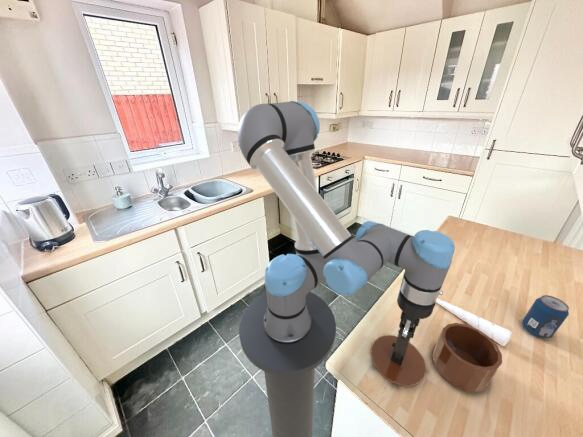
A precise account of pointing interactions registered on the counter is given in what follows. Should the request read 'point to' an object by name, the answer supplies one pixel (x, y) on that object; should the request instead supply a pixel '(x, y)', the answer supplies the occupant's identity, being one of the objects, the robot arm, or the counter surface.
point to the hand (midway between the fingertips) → (397, 356)
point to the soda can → (545, 316)
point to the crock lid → (400, 375)
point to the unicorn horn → (479, 323)
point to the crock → (466, 357)
